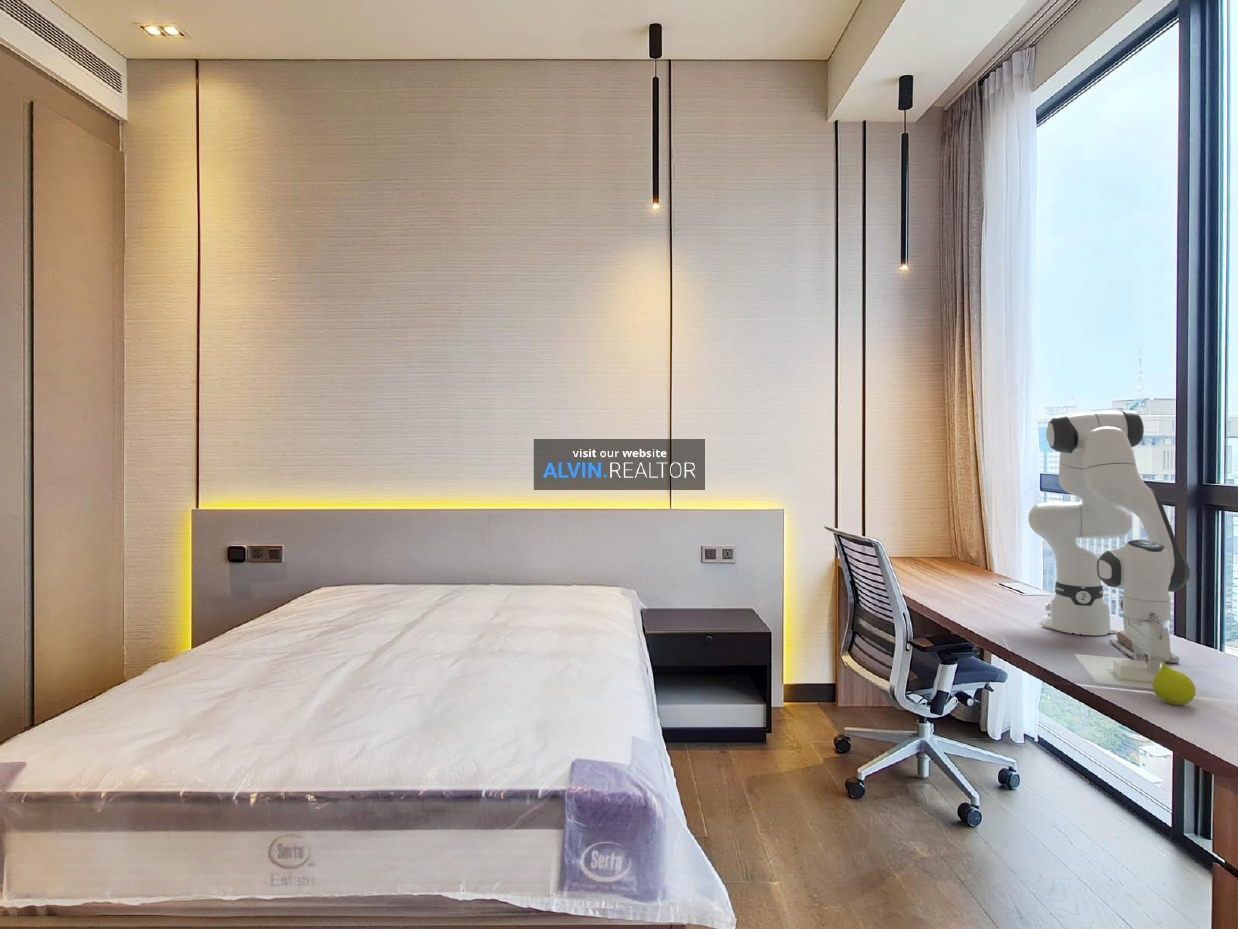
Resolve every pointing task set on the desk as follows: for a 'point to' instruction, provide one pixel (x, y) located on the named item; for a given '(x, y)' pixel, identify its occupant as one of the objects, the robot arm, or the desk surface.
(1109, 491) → the robot arm
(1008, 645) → the desk surface
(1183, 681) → the yellow-green rounded piece
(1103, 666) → the mat
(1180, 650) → the desk surface
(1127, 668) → the card box
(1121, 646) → the packaged product
